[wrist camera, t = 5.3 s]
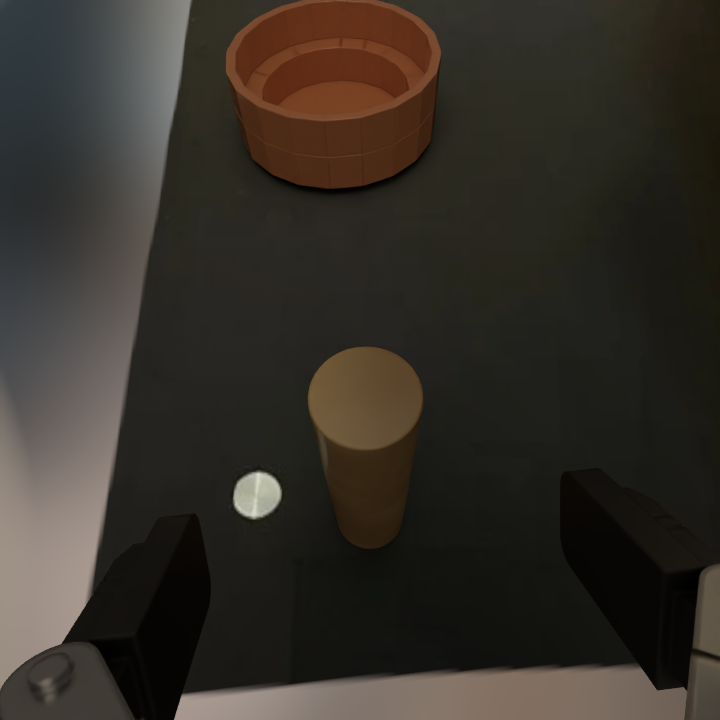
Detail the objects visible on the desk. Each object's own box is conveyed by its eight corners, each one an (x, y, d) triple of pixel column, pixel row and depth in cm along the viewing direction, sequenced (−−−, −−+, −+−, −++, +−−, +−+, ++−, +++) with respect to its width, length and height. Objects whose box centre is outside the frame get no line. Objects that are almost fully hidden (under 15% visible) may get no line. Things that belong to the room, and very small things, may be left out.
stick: (339, 553, 23) (311, 456, 13) (333, 486, 25) (304, 351, 15) (407, 545, 23) (433, 442, 13) (397, 478, 25) (413, 340, 15)
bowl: (244, 205, 34) (223, 130, 30) (244, 82, 41) (227, 5, 36) (448, 185, 35) (460, 108, 30) (415, 67, 41) (420, -12, 37)
